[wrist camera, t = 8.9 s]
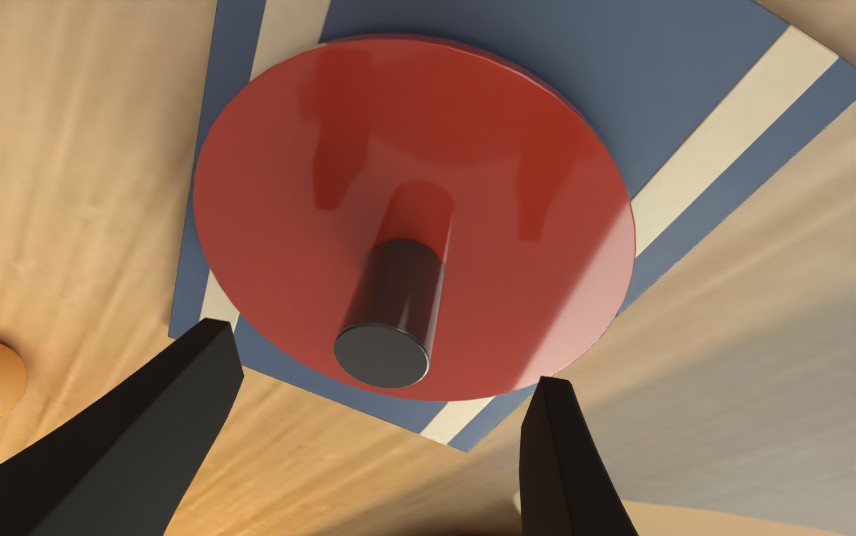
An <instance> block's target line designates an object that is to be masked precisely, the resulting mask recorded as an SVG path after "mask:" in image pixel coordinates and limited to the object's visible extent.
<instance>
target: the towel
mask: <svg viewBox="0 0 856 536" xmlns="http://www.w3.org/2000/svg"><path fill="white" fill-rule="evenodd" d="M374 33H397V34H418V35H424V36H431V37H437V38H444V39H450V40H454V41H457V42H460V43H463V44H467V45H470V46H473V47H477V48H480V49H483V50H486V51H489V52H491V53H493V54H495V55H497V56H500V57H502V58H504V59H506V60H508V61H510V62H512V63H515V64H517V65H519V66H521V67H523V68H524V69H526V70H527V71H529V72H530V73H532V74H534V75H535V76H537V77H538V78H540V79H541V80H543V81H544V82H546V83H547V84H549V85H550V86H552V87H553V88H554V89H556V90H557V91H558V92H559V93H560V94H561V95H562V96H563V97H565V98H566V99H567V100H568V101H569V102H570V103H571V104H572V105H574V106H575V107H576V108H577V109H578V110H579V111H580V112H581V113H582V114H583V116H584V117H585V118H586V119H587V120H588V122H589V123H590V124H591V125H592V126H593V128H594V129H595V130H596V131H597V132H598V134H599V135H600V136H601V138H602V139H603V141H604V143H605V144H606V146H607V148H608V149H609V151H610V153H611V154H612V156H613V158H614V160H615V161H616V163H617V166H618V168H619V171H620V173H621V176H622V178H623V181H624V183H625V186H626V188H627V191H628V194H629V197H630V201H631V206H632V211H633V215H634V220H635V228H636V255H635V262H634V269H633V275H632V278H631V282H630V285H629V288H628V291H627V294H626V297H625V299H624V301H623V303H622V305H621V307H620V309H619V311H618V313H617V315H616V317H617V316H618V315H619V314H620V313H621V312H623V311H624V310H625V309H626V308H627V307H628V306H629V305H630V304H631V303H632V302H634V301H635V300H636V299H637V298H638V297H639V296H640V295H641V294H642V293H643V292H645V291H646V290H647V289H648V288H649V287H650V286H651V285H652V284H653V283H655V282H656V281H657V280H658V279H659V278H660V277H661V276H662V275H663V274H664V273H666V272H667V271H668V270H669V269H670V268H671V267H672V266H673V265H674V264H675V263H677V262H678V261H679V260H680V259H681V258H682V257H683V256H684V255H685V254H686V253H688V252H689V251H690V250H691V249H692V248H693V247H694V246H695V245H696V244H698V243H699V242H700V241H701V240H702V239H703V238H704V237H705V236H706V235H707V234H709V233H710V232H711V231H712V230H713V229H714V228H715V227H716V226H717V225H718V224H720V223H721V222H722V221H723V220H724V219H725V218H726V217H727V216H728V215H729V214H731V213H732V212H733V211H734V210H735V209H736V208H737V207H738V206H739V205H741V204H742V203H743V202H744V201H745V200H746V199H747V198H748V197H749V196H750V195H752V194H753V193H754V192H755V191H756V190H757V189H758V188H759V187H760V186H761V185H763V184H764V183H765V182H766V181H767V180H768V179H769V178H770V177H771V176H772V175H774V174H775V173H776V172H777V171H778V170H779V169H780V168H781V167H782V166H784V165H785V164H786V163H787V162H788V161H789V160H790V159H791V158H792V157H793V156H795V155H796V154H797V153H798V152H799V151H800V150H801V149H802V148H803V147H804V146H806V145H807V144H808V143H809V142H810V141H811V140H812V139H813V138H814V137H815V136H817V135H818V134H819V133H820V132H821V131H822V130H823V129H824V128H825V127H826V126H828V125H829V124H830V123H831V122H832V121H833V120H834V119H835V118H836V117H838V116H839V115H840V114H841V113H842V112H843V111H844V110H845V109H846V108H847V107H849V106H850V105H851V104H852V103H853V102H854V101H855V100H856V66H854V65H853V64H851V63H850V62H848V61H847V60H845V59H843V58H842V57H840V56H839V55H837V54H836V53H834V52H833V51H831V50H830V49H828V48H827V47H825V46H823V45H822V44H820V43H819V42H817V41H816V40H814V39H813V38H811V37H809V36H808V35H806V34H805V33H803V32H802V31H800V30H799V29H797V28H796V27H794V26H792V25H791V24H789V23H788V22H786V21H785V20H783V19H781V18H780V17H778V16H777V15H775V14H774V13H772V12H771V11H769V10H767V9H766V8H764V7H763V6H761V5H760V4H758V3H757V2H755V1H754V0H218V1H217V8H216V15H215V22H214V28H213V35H212V42H211V48H210V55H209V62H208V69H207V75H206V82H205V89H204V96H203V102H202V109H201V116H200V123H199V129H198V136H197V143H196V150H195V156H194V163H193V170H192V176H191V183H190V190H189V197H188V203H187V210H186V217H185V224H184V230H183V237H182V244H181V251H180V257H179V264H178V271H177V278H176V284H175V291H174V298H173V304H172V311H171V318H170V325H169V331H168V337H170V338H173V339H175V340H177V339H178V338H179V337H180V336H182V335H183V334H184V333H185V332H187V331H188V330H189V329H190V328H192V327H193V326H194V325H196V324H197V323H198V322H199V321H201V320H202V319H203V318H205V317H206V318H212V319H218V320H224V321H229V322H230V323H231V327H232V331H233V335H234V339H235V342H236V346H237V350H238V354H239V358H240V362H241V365H242V366H245V367H248V368H250V369H253V370H255V371H258V372H261V373H263V374H266V375H268V376H271V377H273V378H276V379H279V380H281V381H284V382H286V383H289V384H291V385H294V386H297V387H299V388H302V389H304V390H307V391H309V392H312V393H315V394H317V395H320V396H322V397H325V398H328V399H330V400H333V401H335V402H338V403H340V404H343V405H346V406H348V407H351V408H353V409H356V410H358V411H361V412H364V413H366V414H369V415H371V416H374V417H376V418H379V419H382V420H384V421H387V422H389V423H392V424H395V425H397V426H400V427H402V428H405V429H407V430H410V431H413V432H415V433H418V434H419V435H421V436H423V437H426V438H429V439H431V440H434V441H436V442H439V443H441V444H444V445H449V446H451V447H454V448H456V449H459V450H462V451H464V452H468V451H469V450H470V449H472V448H473V447H474V446H475V445H476V444H477V443H478V442H479V441H480V440H481V439H483V438H484V437H485V436H486V435H487V434H488V433H489V432H490V431H491V430H492V429H494V428H495V427H496V426H497V425H498V424H499V423H500V422H501V421H502V420H503V419H505V418H506V417H507V416H508V415H509V414H510V413H511V412H512V411H513V410H515V409H516V408H517V407H518V406H519V405H520V404H521V403H522V402H523V401H524V400H526V399H527V398H528V397H529V396H530V395H531V394H532V393H533V392H534V391H535V390H536V387H537V384H538V382H537V383H535V384H533V385H531V386H528V387H525V388H522V389H519V390H516V391H513V392H510V393H506V394H502V395H498V396H493V397H489V398H482V399H475V400H468V401H450V402H438V401H419V400H409V399H401V398H396V397H390V396H385V395H380V394H376V393H373V392H369V391H365V390H361V389H358V388H355V387H353V386H350V385H347V384H344V383H341V382H339V381H336V380H334V379H332V378H330V377H327V376H325V375H323V374H320V373H318V372H317V371H315V370H313V369H311V368H309V367H307V366H305V365H304V364H302V363H300V362H298V361H297V360H295V359H294V358H292V357H291V356H289V355H288V354H286V353H285V352H283V351H282V350H280V349H279V348H278V347H276V346H275V345H274V344H273V343H271V342H270V341H269V340H267V339H266V338H265V337H264V336H263V335H262V334H260V333H259V332H258V331H257V330H256V329H255V328H254V327H253V326H252V325H251V324H250V323H249V322H248V321H247V320H246V319H245V318H244V317H243V316H242V314H241V313H240V312H239V311H238V310H237V309H236V308H235V306H234V305H233V304H232V303H231V301H230V300H229V298H228V297H227V296H226V294H225V293H224V291H223V290H222V288H221V287H220V286H219V284H218V282H217V280H216V278H215V276H214V275H213V273H212V271H211V269H210V267H209V265H208V263H207V260H206V258H205V255H204V253H203V250H202V247H201V245H200V241H199V237H198V233H197V229H196V225H195V217H194V206H193V190H194V175H195V171H196V167H197V163H198V159H199V155H200V151H201V148H202V146H203V144H204V142H205V139H206V137H207V135H208V133H209V130H210V128H211V126H212V125H213V123H214V122H215V120H216V119H217V118H218V116H219V115H220V113H221V112H222V110H223V109H224V107H225V106H226V105H227V104H228V103H229V101H230V100H231V99H232V98H233V97H234V96H235V95H236V94H237V93H238V92H239V91H240V90H241V89H242V88H243V87H244V86H245V85H246V84H248V83H249V82H250V81H251V80H253V79H254V78H256V77H257V76H258V75H260V74H261V73H263V72H264V71H265V70H267V69H268V68H270V67H271V66H273V65H274V64H275V63H277V62H278V61H280V60H282V59H285V58H287V57H289V56H291V55H293V54H295V53H297V52H299V51H301V50H303V49H305V48H308V47H311V46H315V45H318V44H321V43H325V42H328V41H331V40H335V39H338V38H344V37H351V36H359V35H366V34H374ZM616 317H615V318H616ZM615 318H614V319H615ZM550 377H551V376H550Z"/></svg>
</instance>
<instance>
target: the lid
mask: <svg viewBox="0 0 856 536" xmlns="http://www.w3.org/2000/svg"><path fill="white" fill-rule="evenodd" d="M193 206H194V217H195V225H196V229H197V233H198V237H199V241H200V245H201V247H202V250H203V253H204V255H205V258H206V260H207V263H208V265H209V267H210V269H211V271H212V273H213V275H214V276H215V278H216V280H217V282H218V284H219V286H220V287H221V288H222V290H223V291H224V293H225V294H226V296H227V297H228V298H229V300H230V301H231V303H232V304H233V305H234V306H235V308H236V309H237V310H238V311H239V312H240V313H241V314H242V316H243V317H244V318H245V319H246V320H247V321H248V322H249V323H250V324H251V325H252V326H253V327H254V328H255V329H256V330H257V331H258V332H259V333H260V334H262V335H263V336H264V337H265V338H266V339H267V340H269V341H270V342H271V343H273V344H274V345H275V346H276V347H278V348H279V349H280V350H282V351H283V352H285V353H286V354H288V355H289V356H291V357H292V358H294V359H295V360H297V361H298V362H300V363H302V364H304V365H305V366H307V367H309V368H311V369H313V370H315V371H317V372H318V373H320V374H323V375H325V376H327V377H330V378H332V379H334V380H336V381H339V382H341V383H344V384H347V385H350V386H353V387H355V388H358V389H361V390H365V391H369V392H373V393H376V394H380V395H385V396H390V397H396V398H401V399H409V400H419V401H438V402H450V401H468V400H475V399H482V398H489V397H493V396H498V395H502V394H506V393H510V392H513V391H516V390H519V389H522V388H525V387H528V386H531V385H533V384H535V383H537V382H539V379H540V377H541V376H547V377H550V376H552V375H554V374H555V373H557V372H559V371H560V370H562V369H564V368H565V367H567V366H569V365H570V364H571V363H573V362H574V361H575V360H576V359H578V358H579V357H580V356H582V355H583V354H584V353H585V352H587V350H588V349H589V348H590V347H591V346H592V345H593V344H594V343H595V342H596V341H597V340H598V339H599V338H600V337H601V336H602V335H603V333H604V332H605V331H606V329H607V328H608V327H609V325H610V324H611V323H612V321H613V320H614V318H615V317H616V315H617V313H618V311H619V309H620V307H621V305H622V303H623V301H624V299H625V297H626V294H627V291H628V288H629V285H630V282H631V278H632V275H633V269H634V262H635V255H636V228H635V220H634V215H633V211H632V206H631V201H630V197H629V194H628V191H627V188H626V186H625V183H624V181H623V178H622V176H621V173H620V171H619V168H618V166H617V163H616V161H615V160H614V158H613V156H612V154H611V153H610V151H609V149H608V148H607V146H606V144H605V143H604V141H603V139H602V138H601V136H600V135H599V134H598V132H597V131H596V130H595V129H594V128H593V126H592V125H591V124H590V123H589V122H588V120H587V119H586V118H585V117H584V116H583V114H582V113H581V112H580V111H579V110H578V109H577V108H576V107H575V106H574V105H572V104H571V103H570V102H569V101H568V100H567V99H566V98H565V97H563V96H562V95H561V94H560V93H559V92H558V91H557V90H556V89H554V88H553V87H552V86H550V85H549V84H547V83H546V82H544V81H543V80H541V79H540V78H538V77H537V76H535V75H534V74H532V73H530V72H529V71H527V70H526V69H524V68H523V67H521V66H519V65H517V64H515V63H512V62H510V61H508V60H506V59H504V58H502V57H500V56H497V55H495V54H493V53H491V52H489V51H486V50H483V49H480V48H477V47H473V46H470V45H467V44H463V43H460V42H457V41H454V40H450V39H444V38H437V37H431V36H424V35H418V34H397V33H374V34H366V35H359V36H351V37H344V38H338V39H335V40H331V41H328V42H325V43H321V44H318V45H315V46H311V47H308V48H305V49H303V50H301V51H299V52H297V53H295V54H293V55H291V56H289V57H287V58H285V59H282V60H280V61H278V62H277V63H275V64H274V65H273V66H271V67H270V68H268V69H267V70H265V71H264V72H263V73H261V74H260V75H258V76H257V77H256V78H254V79H253V80H251V81H250V82H249V83H248V84H246V85H245V86H244V87H243V88H242V89H241V90H240V91H239V92H238V93H237V94H236V95H235V96H234V97H233V98H232V99H231V100H230V101H229V103H228V104H227V105H226V106H225V107H224V109H223V110H222V112H221V113H220V115H219V116H218V118H217V119H216V120H215V122H214V123H213V125H212V126H211V128H210V130H209V133H208V135H207V137H206V139H205V142H204V144H203V146H202V148H201V151H200V155H199V159H198V163H197V167H196V171H195V175H194V190H193Z"/></svg>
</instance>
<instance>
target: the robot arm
mask: <svg viewBox="0 0 856 536" xmlns="http://www.w3.org/2000/svg"><path fill="white" fill-rule="evenodd" d="M243 378H244V374H243V370H242V366H241V362H240V358H239V354H238V350H237V346H236V342H235V339H234V335H233V331H232V327H231V323H230V322H229V321H224V320H218V319H212V318H206V317H205V318H203V319H202V320H201V321H199V322H198V323H197V324H196V325H194V326H193V327H192V328H190V329H189V330H188V331H187V332H185V333H184V334H183V335H182V336H180V337H179V338H178V339H177V340H175V341H174V342H173V343H172V344H170V345H169V346H168V347H167V348H165V349H164V350H163V351H162V352H160V353H159V354H158V355H157V356H155V357H154V358H153V359H151V360H150V361H149V362H148V363H146V364H145V365H144V366H143V367H141V368H140V369H139V370H137V371H136V372H135V373H133V374H132V375H131V376H129V377H128V378H127V379H126V380H124V381H123V382H122V383H120V384H119V385H118V386H116V387H115V388H114V389H112V390H111V391H110V392H108V393H107V394H106V395H104V396H103V397H101V398H100V399H99V400H97V401H96V402H94V403H93V404H91V405H90V406H89V407H87V408H86V409H84V410H83V411H82V412H80V413H79V414H77V415H76V416H75V417H73V418H72V419H70V420H69V421H67V422H66V423H64V424H63V425H61V426H60V427H58V428H57V429H55V430H54V431H52V432H51V433H49V434H48V435H46V436H45V437H43V438H42V439H40V440H39V441H37V442H35V443H34V444H32V445H31V446H29V447H27V448H26V449H24V450H23V451H21V452H19V453H18V454H16V455H15V456H13V457H11V458H10V459H8V460H6V461H5V462H3V463H1V464H0V536H163V535H164V532H165V530H166V528H167V526H168V524H169V522H170V520H171V518H172V516H173V514H174V512H175V511H176V509H177V507H178V505H179V503H180V501H181V500H182V498H183V496H184V494H185V492H186V491H187V489H188V487H189V485H190V484H191V482H192V480H193V478H194V477H195V475H196V473H197V471H198V469H199V468H200V466H201V464H202V462H203V461H204V459H205V457H206V455H207V454H208V452H209V450H210V448H211V446H212V445H213V443H214V441H215V439H216V437H217V436H218V434H219V432H220V430H221V428H222V427H223V425H224V423H225V421H226V419H227V417H228V415H229V413H230V410H231V408H232V406H233V403H234V401H235V399H236V396H237V394H238V391H239V388H240V386H241V383H242V381H243ZM519 481H520V500H521V518H522V536H639V535H638V533H637V532H636V530H635V528H634V526H633V524H632V522H631V520H630V518H629V516H628V514H627V512H626V510H625V508H624V506H623V505H622V502H621V500H620V498H619V496H618V494H617V492H616V490H615V488H614V486H613V484H612V482H611V479H610V477H609V475H608V473H607V471H606V469H605V466H604V464H603V462H602V460H601V458H600V456H599V453H598V451H597V449H596V446H595V444H594V442H593V439H592V437H591V434H590V432H589V429H588V427H587V425H586V422H585V419H584V417H583V414H582V412H581V409H580V406H579V404H578V401H577V398H576V395H575V392H574V389H573V386H572V384H571V383H570V382H569V380H565V379H559V378H553V377H547V376H541V377H540V379H539V382H538V384H537V387H536V390H535V392H534V395H533V397H532V400H531V403H530V405H529V408H528V410H527V413H526V416H525V418H524V421H523V423H522V426H521V441H520V461H519Z"/></svg>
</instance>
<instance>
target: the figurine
mask: <svg viewBox="0 0 856 536" xmlns="http://www.w3.org/2000/svg"><path fill="white" fill-rule="evenodd" d="M26 386H27V370H26V367H25V364H24V362H23V361H22V359H21V358H20V357H19V355H18V354H17V353H16V352H14V351H13V350H12V349H10V348H9V347H7V346H5V345H3V344H0V419H1V418H2V417H4V416H5V415H7V414H8V413H9V412H10V411H11V410H12V409H13V408H14V407H15V406H16V405H17V404H18V403H19V401H20V400H21V398H22V396H23V394H24V392H25V390H26Z"/></svg>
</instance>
